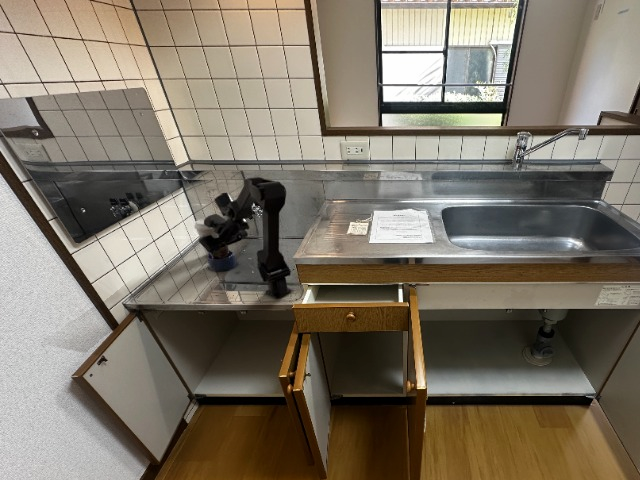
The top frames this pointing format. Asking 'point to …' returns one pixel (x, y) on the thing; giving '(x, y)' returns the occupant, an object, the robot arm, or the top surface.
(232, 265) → the blue rimmed bowl
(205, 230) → the coffee cup
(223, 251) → the supplement container
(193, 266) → the top surface
